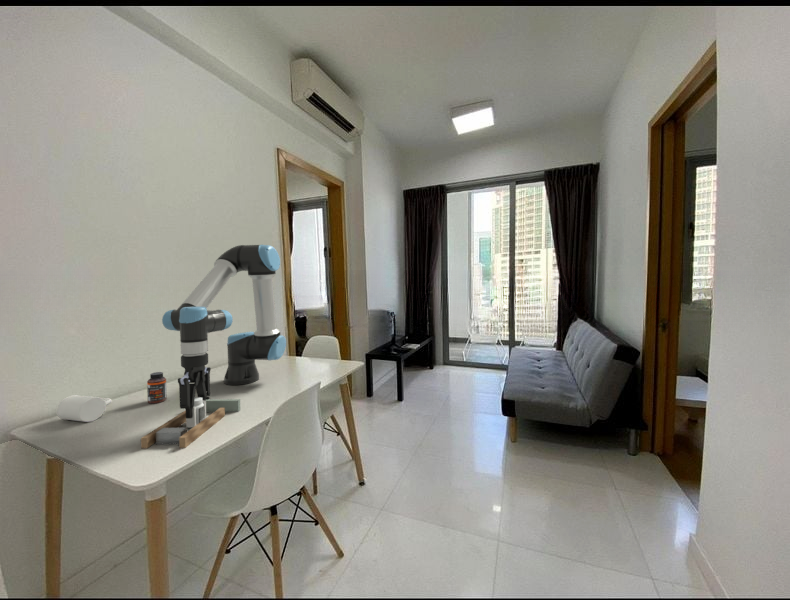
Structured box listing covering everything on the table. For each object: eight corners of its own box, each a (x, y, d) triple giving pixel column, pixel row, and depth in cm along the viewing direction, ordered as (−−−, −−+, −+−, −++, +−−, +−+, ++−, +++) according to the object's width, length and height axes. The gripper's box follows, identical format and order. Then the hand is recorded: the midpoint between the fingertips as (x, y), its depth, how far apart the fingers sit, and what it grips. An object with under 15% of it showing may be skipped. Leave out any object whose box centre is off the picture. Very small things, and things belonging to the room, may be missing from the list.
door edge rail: (191, 410, 112) (190, 399, 111) (240, 409, 112) (240, 399, 112) (188, 411, 110) (188, 401, 110) (238, 411, 111) (238, 400, 110)
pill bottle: (202, 419, 104) (201, 395, 104) (206, 423, 101) (205, 399, 100) (185, 423, 100) (185, 399, 100) (189, 428, 97) (189, 402, 97)
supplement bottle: (148, 405, 116) (146, 376, 116) (147, 401, 121) (146, 372, 120) (167, 401, 120) (166, 373, 119) (166, 397, 124) (165, 370, 124)
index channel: (189, 416, 106) (189, 407, 106) (224, 415, 107) (224, 407, 107) (141, 448, 85) (141, 438, 85) (185, 447, 86) (185, 437, 86)
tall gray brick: (163, 439, 90) (163, 427, 90) (187, 439, 91) (187, 427, 91) (156, 444, 87) (155, 432, 87) (180, 444, 88) (180, 432, 88)
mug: (79, 426, 99) (78, 402, 99) (56, 423, 101) (55, 399, 101) (119, 411, 111) (118, 389, 110) (98, 409, 113) (97, 388, 112)
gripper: (199, 348, 108) (201, 412, 109) (163, 360, 90) (165, 436, 92) (221, 348, 108) (222, 411, 110) (188, 360, 91) (190, 436, 92)
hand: (196, 422), depth 101 cm, fingers closed on pill bottle, 5 cm apart
